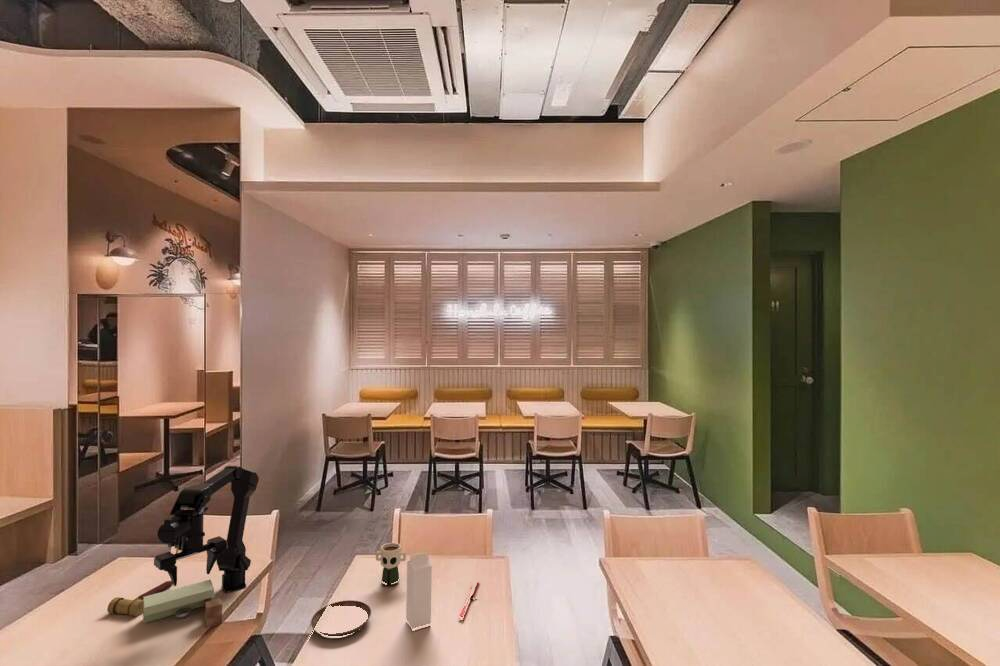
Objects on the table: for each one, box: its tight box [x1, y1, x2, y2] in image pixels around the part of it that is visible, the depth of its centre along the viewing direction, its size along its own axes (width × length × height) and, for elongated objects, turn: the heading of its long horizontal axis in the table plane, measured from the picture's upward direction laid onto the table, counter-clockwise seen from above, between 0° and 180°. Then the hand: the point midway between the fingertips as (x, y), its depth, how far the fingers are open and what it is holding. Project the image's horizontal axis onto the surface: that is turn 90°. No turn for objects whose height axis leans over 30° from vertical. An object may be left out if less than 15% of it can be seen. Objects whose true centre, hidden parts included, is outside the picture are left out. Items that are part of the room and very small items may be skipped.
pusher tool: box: [203, 597, 223, 629], centre depth 152 cm, size 4×14×6 cm, turn 38°
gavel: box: [107, 579, 174, 617], centre depth 161 cm, size 21×5×10 cm
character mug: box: [375, 542, 407, 584], centre depth 174 cm, size 11×7×13 cm, turn 90°
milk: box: [405, 551, 433, 629], centre depth 149 cm, size 6×6×22 cm
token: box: [175, 608, 192, 621], centre depth 152 cm, size 4×4×2 cm
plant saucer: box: [310, 599, 372, 636], centre depth 149 cm, size 18×18×3 cm
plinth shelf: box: [142, 578, 215, 624], centre depth 152 cm, size 18×8×7 cm, turn 128°
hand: (191, 579), depth 149 cm, fingers open, 9 cm apart
